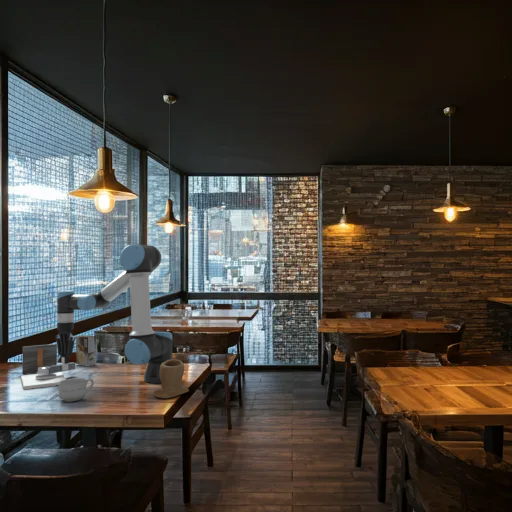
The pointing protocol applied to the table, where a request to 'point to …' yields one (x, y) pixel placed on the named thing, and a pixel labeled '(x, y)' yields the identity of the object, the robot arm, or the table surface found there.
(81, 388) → the teacup
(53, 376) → the grey metal lever
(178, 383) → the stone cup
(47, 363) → the board
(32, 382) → the base plate
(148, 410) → the table surface
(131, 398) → the table surface
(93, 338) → the coffee box
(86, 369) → the table surface
